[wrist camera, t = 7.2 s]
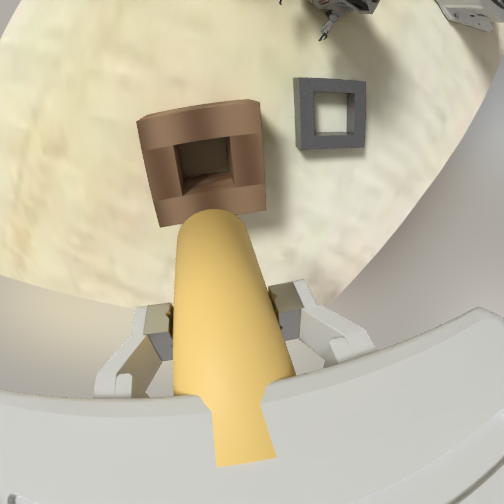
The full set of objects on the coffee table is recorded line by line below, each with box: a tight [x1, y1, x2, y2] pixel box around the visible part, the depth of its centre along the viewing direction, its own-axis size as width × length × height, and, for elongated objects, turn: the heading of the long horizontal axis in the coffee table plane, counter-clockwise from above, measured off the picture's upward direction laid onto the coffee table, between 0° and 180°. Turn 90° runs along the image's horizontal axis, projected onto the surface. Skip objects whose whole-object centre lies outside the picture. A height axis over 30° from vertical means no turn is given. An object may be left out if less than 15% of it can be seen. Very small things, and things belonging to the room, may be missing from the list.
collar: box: [293, 78, 366, 150], centre depth 30 cm, size 9×9×2 cm
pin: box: [173, 209, 296, 467], centre depth 11 cm, size 4×4×12 cm
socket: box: [136, 99, 266, 228], centre depth 29 cm, size 12×12×6 cm
